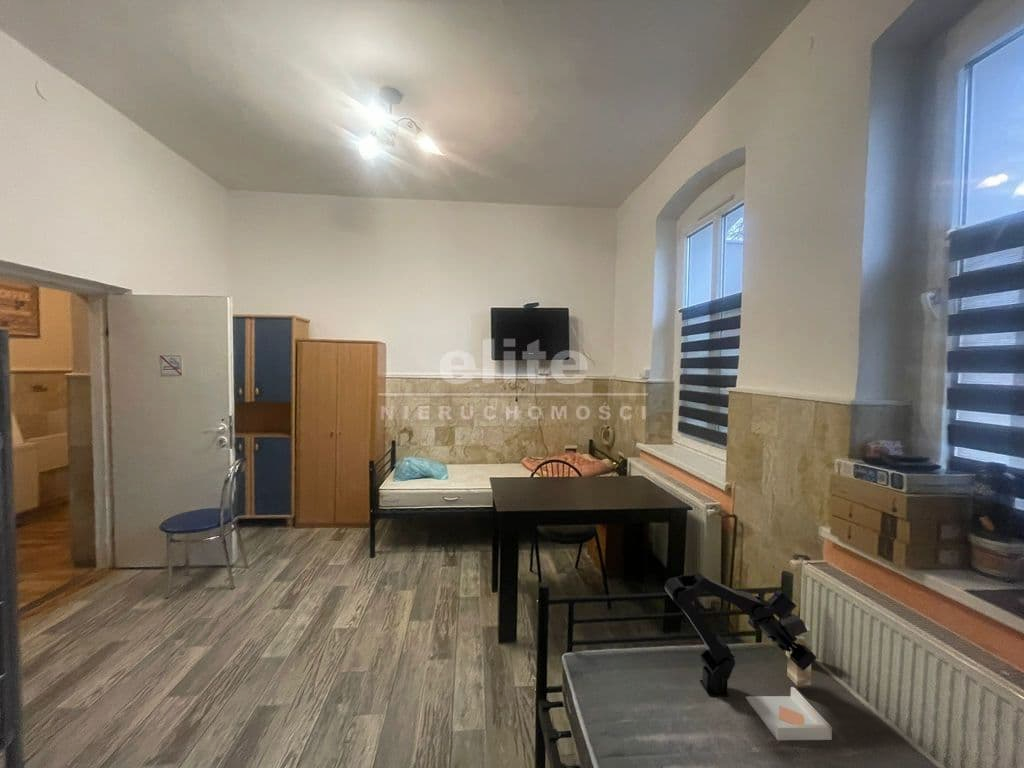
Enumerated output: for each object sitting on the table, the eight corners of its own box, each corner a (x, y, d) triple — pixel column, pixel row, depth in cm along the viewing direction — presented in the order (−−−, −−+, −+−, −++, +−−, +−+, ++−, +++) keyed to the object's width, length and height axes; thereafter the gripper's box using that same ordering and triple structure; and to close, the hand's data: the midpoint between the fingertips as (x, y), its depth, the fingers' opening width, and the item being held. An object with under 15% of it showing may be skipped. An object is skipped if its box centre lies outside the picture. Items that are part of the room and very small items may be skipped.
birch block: (796, 685, 133) (798, 645, 133) (787, 675, 138) (788, 636, 137) (810, 685, 133) (812, 645, 133) (800, 675, 138) (801, 636, 138)
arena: (777, 740, 116) (778, 727, 116) (745, 698, 131) (745, 687, 131) (831, 739, 116) (832, 727, 116) (793, 698, 131) (793, 687, 131)
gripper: (811, 627, 126) (845, 662, 126) (770, 594, 144) (800, 625, 145) (784, 652, 125) (818, 688, 126) (747, 616, 144) (777, 647, 145)
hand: (803, 660), depth 135 cm, fingers closed on birch block, 4 cm apart
